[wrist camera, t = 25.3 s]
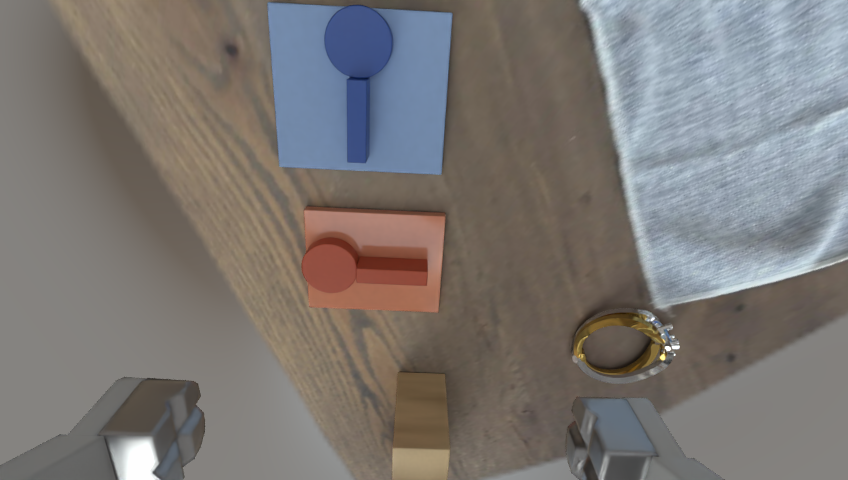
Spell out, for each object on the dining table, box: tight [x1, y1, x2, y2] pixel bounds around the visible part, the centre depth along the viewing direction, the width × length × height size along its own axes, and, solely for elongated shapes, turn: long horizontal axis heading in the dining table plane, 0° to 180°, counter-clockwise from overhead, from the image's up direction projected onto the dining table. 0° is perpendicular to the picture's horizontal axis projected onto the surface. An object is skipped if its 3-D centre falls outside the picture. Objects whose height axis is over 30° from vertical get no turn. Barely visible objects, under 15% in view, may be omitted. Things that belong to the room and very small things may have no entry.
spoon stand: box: [392, 372, 450, 480], centre depth 38 cm, size 9×4×8 cm, turn 177°
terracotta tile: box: [304, 206, 446, 312], centre depth 35 cm, size 8×10×1 cm
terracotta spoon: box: [302, 237, 428, 293], centre depth 34 cm, size 9×4×2 cm, turn 87°
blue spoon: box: [324, 5, 393, 163], centre depth 29 cm, size 9×4×2 cm, turn 177°
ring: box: [571, 308, 679, 384], centre depth 38 cm, size 7×3×8 cm
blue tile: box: [267, 2, 452, 175], centre depth 30 cm, size 10×11×1 cm
